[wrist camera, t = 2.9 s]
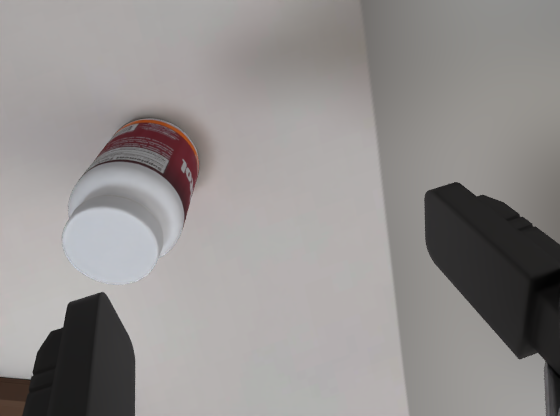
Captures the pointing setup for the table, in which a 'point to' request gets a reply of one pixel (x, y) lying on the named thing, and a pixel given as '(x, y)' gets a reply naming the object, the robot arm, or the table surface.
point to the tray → (13, 396)
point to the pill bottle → (131, 202)
